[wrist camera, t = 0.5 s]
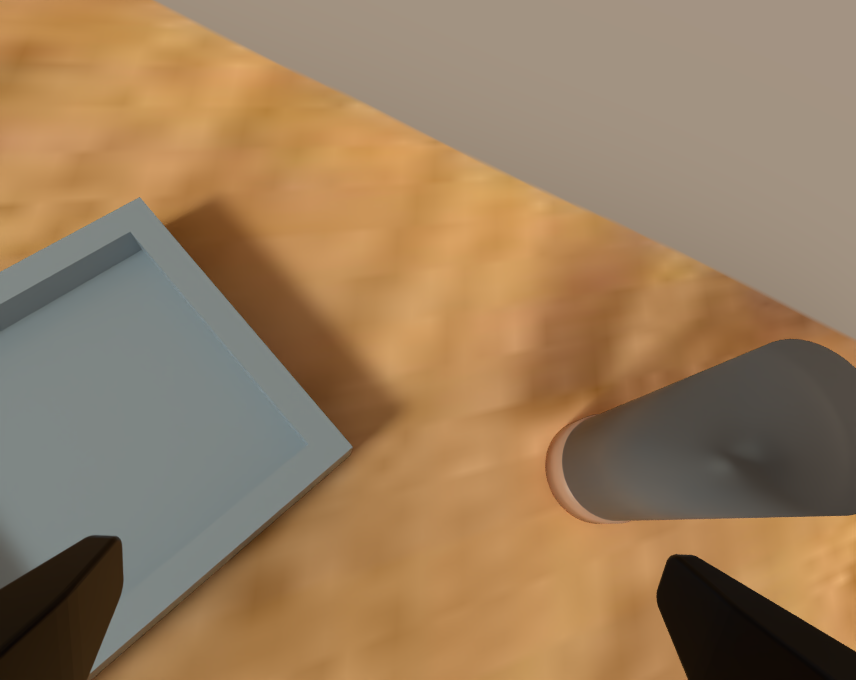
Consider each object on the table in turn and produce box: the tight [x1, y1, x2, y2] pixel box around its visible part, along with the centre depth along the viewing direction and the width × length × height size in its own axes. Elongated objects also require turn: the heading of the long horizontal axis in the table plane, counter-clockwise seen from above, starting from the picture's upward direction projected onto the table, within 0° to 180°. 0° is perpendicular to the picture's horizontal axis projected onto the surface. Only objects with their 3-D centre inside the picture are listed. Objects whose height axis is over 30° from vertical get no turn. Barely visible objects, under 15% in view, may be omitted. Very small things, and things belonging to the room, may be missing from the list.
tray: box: [0, 197, 353, 680], centre depth 20 cm, size 14×14×2 cm
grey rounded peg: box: [545, 339, 856, 524], centre depth 19 cm, size 5×5×12 cm
